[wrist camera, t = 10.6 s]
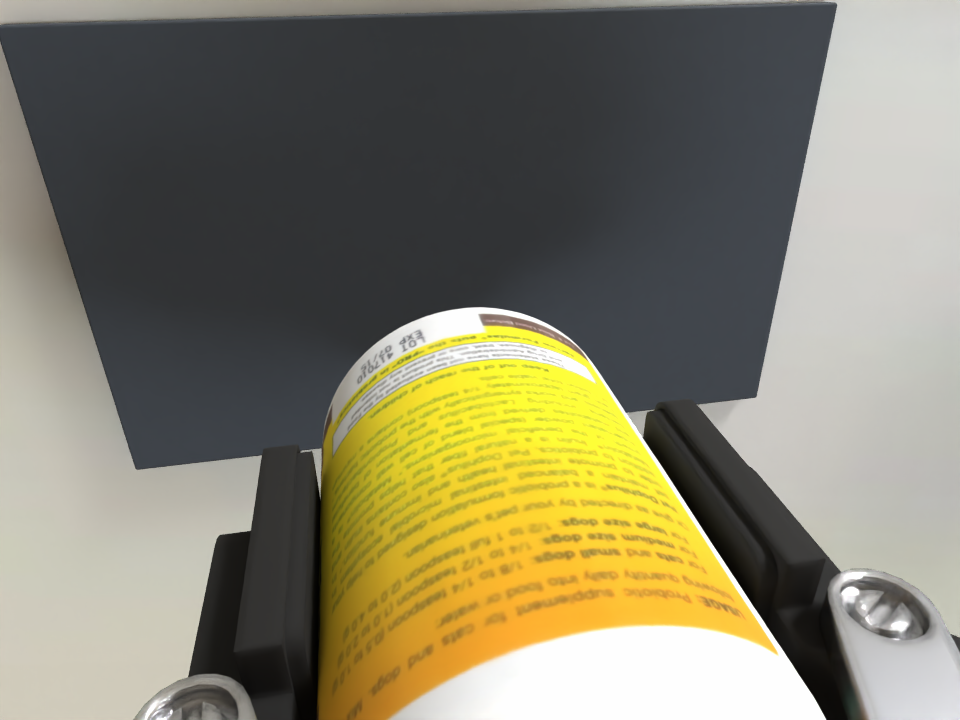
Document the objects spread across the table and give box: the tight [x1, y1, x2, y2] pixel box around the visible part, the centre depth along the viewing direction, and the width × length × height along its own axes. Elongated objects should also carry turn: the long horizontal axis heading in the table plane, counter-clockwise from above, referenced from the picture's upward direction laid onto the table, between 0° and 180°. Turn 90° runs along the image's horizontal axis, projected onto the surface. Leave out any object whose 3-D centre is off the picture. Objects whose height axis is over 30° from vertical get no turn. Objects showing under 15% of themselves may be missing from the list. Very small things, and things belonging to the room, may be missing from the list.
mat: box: [0, 2, 837, 470], centre depth 20 cm, size 12×20×1 cm, turn 91°
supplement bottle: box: [317, 307, 826, 720], centre depth 10 cm, size 6×6×10 cm
